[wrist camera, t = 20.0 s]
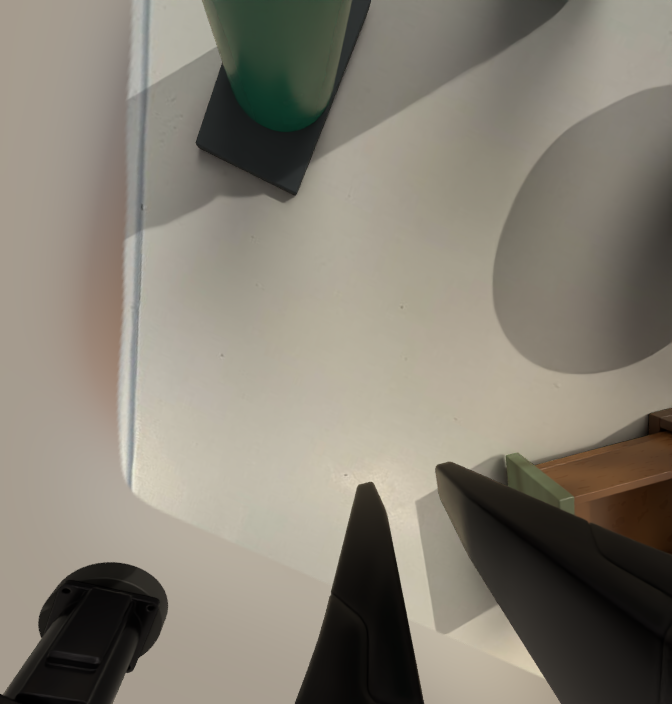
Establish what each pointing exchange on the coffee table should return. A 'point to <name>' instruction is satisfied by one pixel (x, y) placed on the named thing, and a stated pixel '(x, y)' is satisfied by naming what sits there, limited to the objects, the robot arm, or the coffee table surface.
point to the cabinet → (660, 421)
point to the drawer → (608, 486)
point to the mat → (260, 142)
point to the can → (280, 56)
